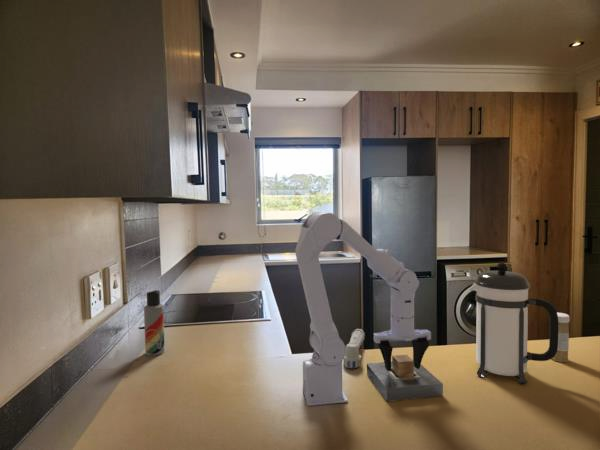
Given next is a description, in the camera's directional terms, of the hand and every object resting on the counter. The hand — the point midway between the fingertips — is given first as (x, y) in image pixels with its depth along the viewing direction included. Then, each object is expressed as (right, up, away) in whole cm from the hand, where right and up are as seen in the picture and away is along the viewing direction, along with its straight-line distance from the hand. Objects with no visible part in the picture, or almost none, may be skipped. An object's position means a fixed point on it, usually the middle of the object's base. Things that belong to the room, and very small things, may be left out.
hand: (402, 368), depth 92 cm
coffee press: (+30, -4, +6) cm, 30 cm away
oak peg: (0, -4, 0) cm, 4 cm away
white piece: (-9, -4, +21) cm, 23 cm away
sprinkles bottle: (+50, -3, +14) cm, 52 cm away
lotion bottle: (-72, -5, +24) cm, 76 cm away
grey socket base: (0, -4, 0) cm, 4 cm away
